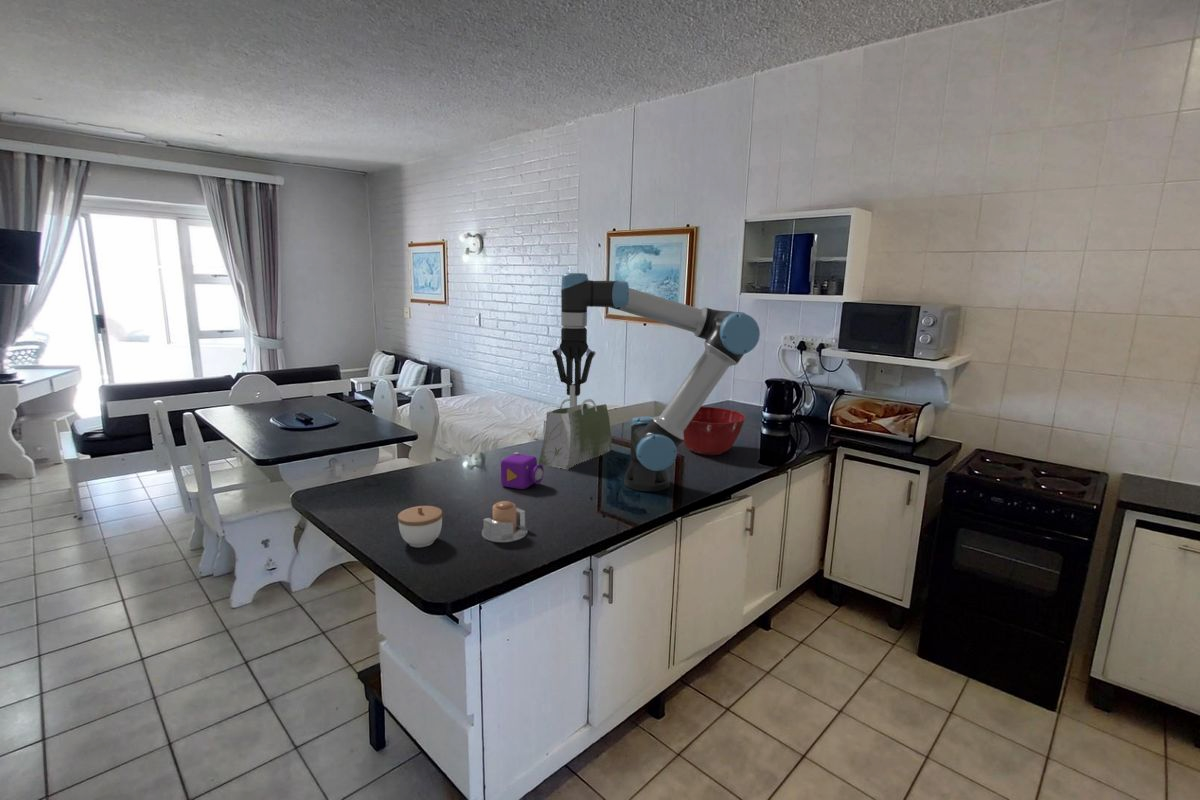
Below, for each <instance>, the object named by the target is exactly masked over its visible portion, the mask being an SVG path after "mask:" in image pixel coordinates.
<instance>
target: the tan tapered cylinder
mask: <svg viewBox="0 0 1200 800" xmlns="http://www.w3.org/2000/svg"><path fill="white" fill-rule="evenodd" d="M516 508H517V506H516V504H515V503H513V502H512V501H509V500H501V501H498V502H496V503H495V504H493V505H492V520H494V521H512V522H513V534H514V533H515V532H516Z"/></svg>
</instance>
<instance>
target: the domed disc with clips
mask: <svg viewBox="0 0 1200 800" xmlns="http://www.w3.org/2000/svg"><path fill="white" fill-rule="evenodd" d="M527 535H528V527H527V526H526V511H525V510H523V509H521V508H519V507H516V532H515V533H514V534H513V522H512V521H494V520H493V518H491V517H486V518H483V528H482V530H481V537H482V538H483V539H484V540H486V541H488V542H491V543H497V544H499V543H500V544H505V543H513V542H516V541H517V542H518V541H520V540H522V539H524V538H525V537H526V536H527Z"/></svg>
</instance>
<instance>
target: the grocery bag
mask: <svg viewBox="0 0 1200 800" xmlns="http://www.w3.org/2000/svg"><path fill="white" fill-rule="evenodd" d="M566 402H570V398H566V399H563V400H562V401H561V403H560V406H559V408H557V409H553V410H551V411H550V410H549V411H547V412H546V418H545V419H546V421H545V431H544V436H543V441H542V447H541V452H540V457H539V460H538V465H539V464H541V465H542V466H545V467H551V466H552V467H551V468H556V467H557V469H560V468H562V470H565V469H567V470H566V471H568V470H570V469H572V468H573V467H575V466H577V465H579V463H580V464H582V463H581V462H583V463H585V462H587V460H588V461H590V460H589V459H591V460H592V458H593V459H595V458H594V457H596V458H598V457H597V456H599V457H601V456H603V455H605V454H607V453H609V452H611V451H612V431H611V422H610V415H609V411H608V405H607V404H606V403H605V404H598V405H597V404H596V403H595V401H594V399H591V398H588V399H585V400H583V401H582V402H581V404H577V406H575V407H570V406H569V407H565V408H564V407H563V406H564V404H565V403H566ZM588 402H589V403H592V404H593V405H591V404H589V403H588ZM610 450H611V451H610ZM600 455H601V456H600ZM584 461H585V462H584ZM576 464H577V465H576ZM574 465H575V466H574ZM571 467H572V468H571ZM569 468H570V469H569Z"/></svg>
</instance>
